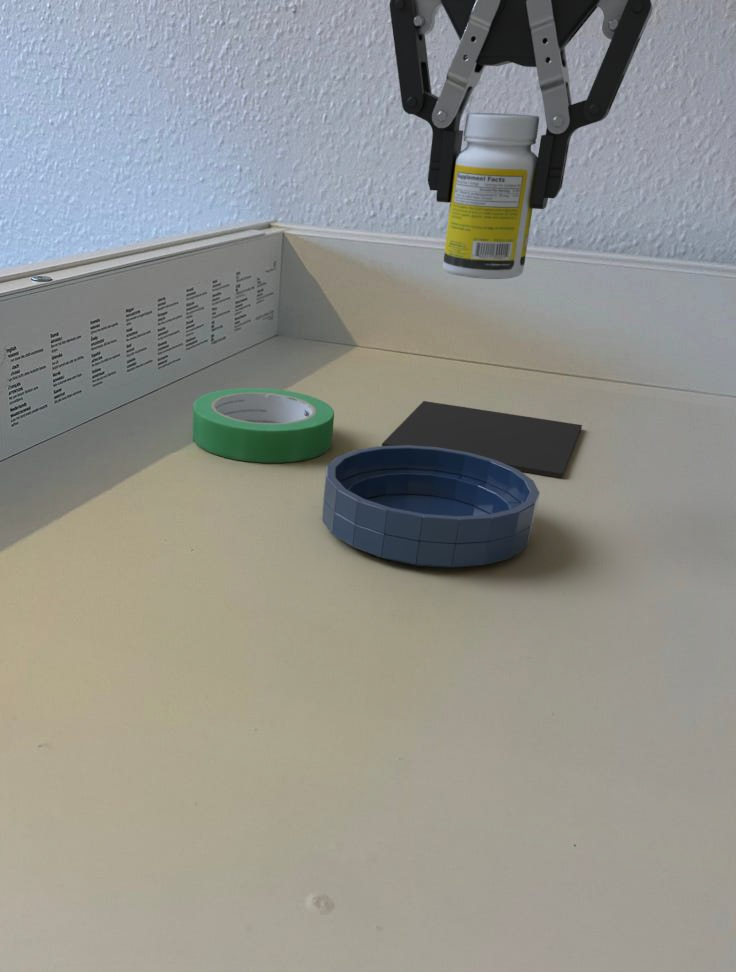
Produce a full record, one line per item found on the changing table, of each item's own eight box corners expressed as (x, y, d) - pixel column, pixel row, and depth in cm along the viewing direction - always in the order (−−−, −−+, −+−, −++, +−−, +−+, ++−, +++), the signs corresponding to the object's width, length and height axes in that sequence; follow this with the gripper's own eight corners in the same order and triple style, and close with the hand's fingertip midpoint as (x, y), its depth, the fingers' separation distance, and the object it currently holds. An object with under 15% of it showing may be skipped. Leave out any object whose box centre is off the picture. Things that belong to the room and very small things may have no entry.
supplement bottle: (475, 264, 62) (496, 112, 58) (538, 276, 59) (565, 116, 55) (425, 270, 59) (443, 111, 55) (488, 283, 56) (512, 115, 52)
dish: (541, 515, 67) (551, 465, 65) (509, 592, 56) (520, 535, 55) (355, 481, 71) (360, 434, 69) (293, 547, 60) (297, 493, 59)
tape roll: (322, 469, 73) (325, 434, 72) (177, 454, 74) (177, 419, 73) (338, 426, 82) (341, 395, 81) (209, 413, 84) (210, 382, 83)
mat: (581, 429, 85) (582, 424, 85) (561, 478, 74) (563, 473, 74) (422, 405, 90) (423, 400, 89) (381, 448, 78) (382, 443, 78)
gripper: (696, -159, 50) (623, 208, 58) (418, -149, 54) (386, 191, 62) (697, -196, 44) (615, 220, 52) (383, -182, 48) (353, 201, 56)
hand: (490, 202), depth 57 cm, fingers closed on supplement bottle, 4 cm apart
